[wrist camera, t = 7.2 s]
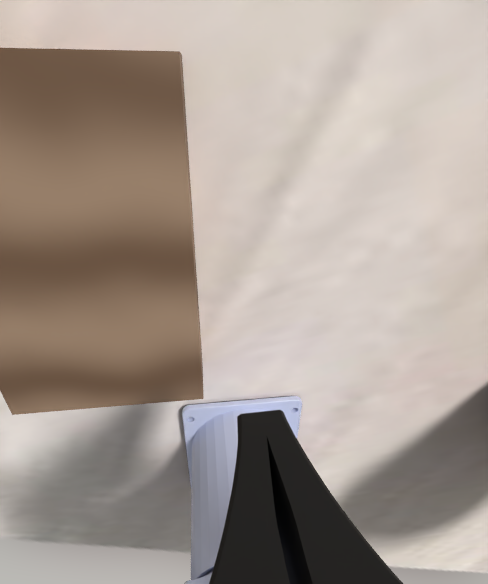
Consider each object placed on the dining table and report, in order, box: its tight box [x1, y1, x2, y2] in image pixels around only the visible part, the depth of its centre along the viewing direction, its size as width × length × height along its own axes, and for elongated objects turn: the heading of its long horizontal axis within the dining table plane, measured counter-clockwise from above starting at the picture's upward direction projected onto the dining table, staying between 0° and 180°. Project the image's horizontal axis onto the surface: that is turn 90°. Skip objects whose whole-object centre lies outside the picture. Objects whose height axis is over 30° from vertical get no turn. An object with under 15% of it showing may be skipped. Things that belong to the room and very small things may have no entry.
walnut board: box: [0, 48, 203, 415], centre depth 16 cm, size 16×10×2 cm, turn 179°
